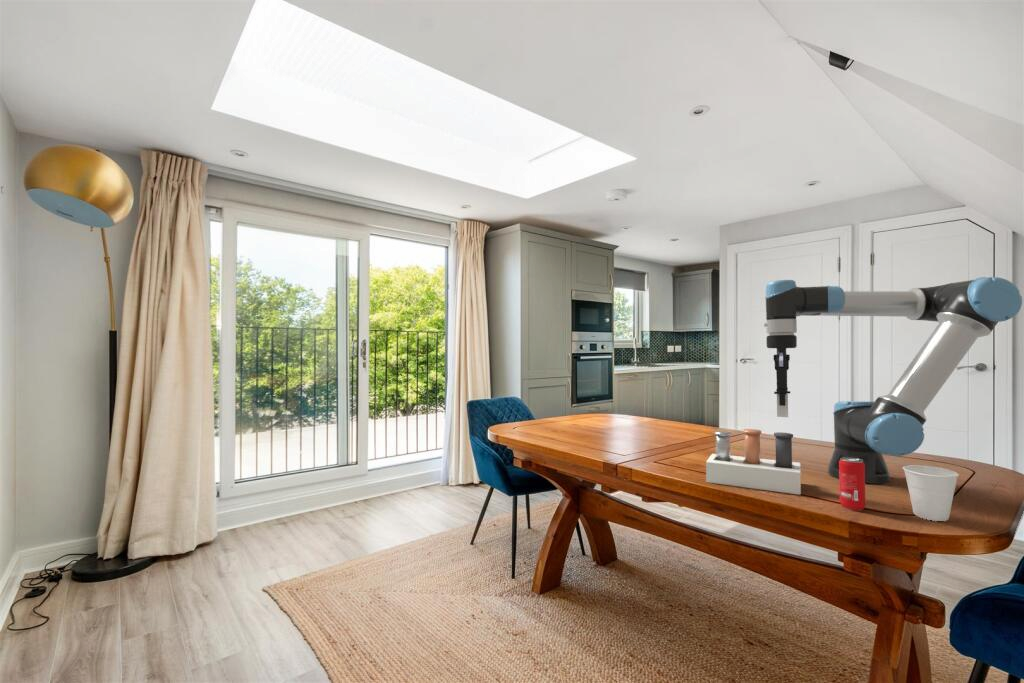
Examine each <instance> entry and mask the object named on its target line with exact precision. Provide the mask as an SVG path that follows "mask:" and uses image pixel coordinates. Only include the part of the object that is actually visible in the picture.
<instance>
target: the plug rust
mask: <svg viewBox="0 0 1024 683" xmlns="http://www.w3.org/2000/svg"><path fill="white" fill-rule="evenodd" d="M742 431H743V432H742V433H744V457H745V463H747V464H754V465H759V464H760V459H761V434H762V430H759V429H755V428H754V429H753V428H745V429H743V430H742Z"/></svg>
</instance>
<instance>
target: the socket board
mask: <svg viewBox="0 0 1024 683" xmlns="http://www.w3.org/2000/svg"><path fill="white" fill-rule="evenodd" d="M730 460H731V462H727V461H718V460H716V453H711V454H710V456H709V457H708V458H707V460H706V461H705V482H706V483H711V484H718V485H725V486H732V487H741V488H747V489H748V488H749V489H753V490H762V491H763V490H764V491H768V492H769V491H770V492H778V493H783V494H785V493H786V494H791V495H792V494H793V495H798V496H799V495H801V494H802V491H801V490H802V488H801V487H802V486H801V485H802V483H801V482H802V481H801V462H798V461H797V462H795V461H792V469H790V468H781V467H776V459H767V458H760V464H759V465H754V464H747V463H745V456H739V455H731V454H730Z"/></svg>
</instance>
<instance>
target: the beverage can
mask: <svg viewBox="0 0 1024 683" xmlns="http://www.w3.org/2000/svg"><path fill="white" fill-rule="evenodd" d="M838 480H839V482H838V483H839V486H838V487H839V502H840V505H841V508H844V509H846V510H850V511H857V512H859V511H864V508H865V506H866V483H865V464H864V463H863V460H861V459H857V458H850V457H842V458H840V461H839V478H838Z"/></svg>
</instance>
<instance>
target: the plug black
mask: <svg viewBox="0 0 1024 683" xmlns="http://www.w3.org/2000/svg"><path fill="white" fill-rule="evenodd" d="M773 436H774V437H775V460H776V467H781V468H790V469H792V462H793V447H792V446H793V444H792V440H793V439H792V438H794V434H792V433H789V432H774V433H773Z"/></svg>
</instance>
